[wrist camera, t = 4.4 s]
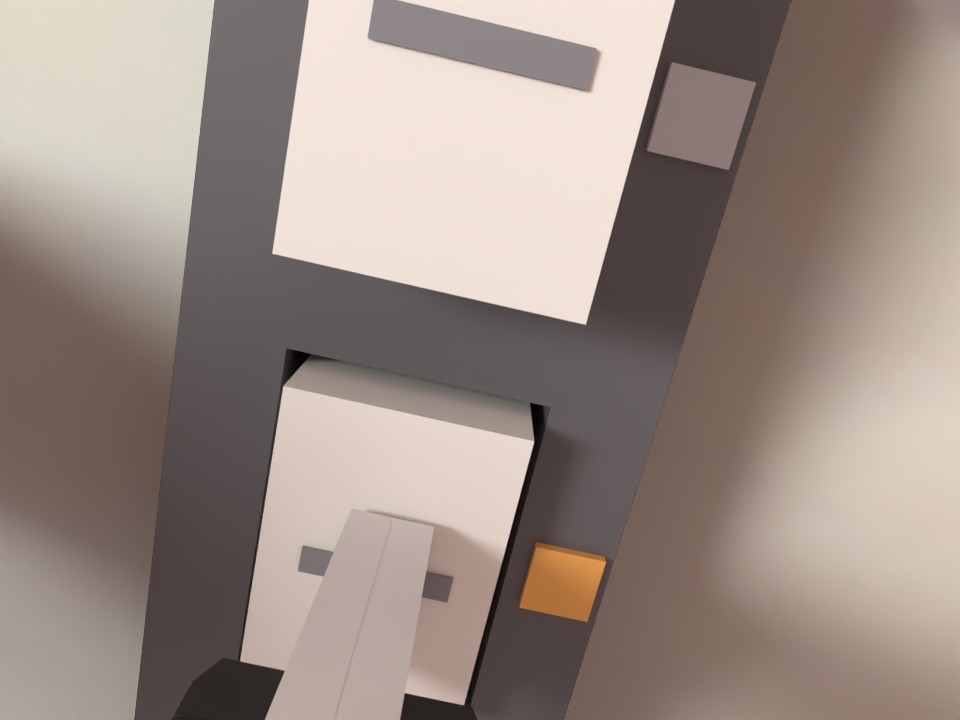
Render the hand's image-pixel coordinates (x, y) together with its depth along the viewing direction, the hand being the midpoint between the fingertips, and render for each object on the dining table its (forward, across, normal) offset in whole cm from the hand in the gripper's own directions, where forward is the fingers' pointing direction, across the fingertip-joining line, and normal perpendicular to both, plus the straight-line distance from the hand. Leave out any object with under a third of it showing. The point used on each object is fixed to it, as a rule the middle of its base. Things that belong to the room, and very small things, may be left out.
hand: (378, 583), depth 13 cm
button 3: (+3, 0, +9) cm, 10 cm away
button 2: (+5, 0, 0) cm, 5 cm away
